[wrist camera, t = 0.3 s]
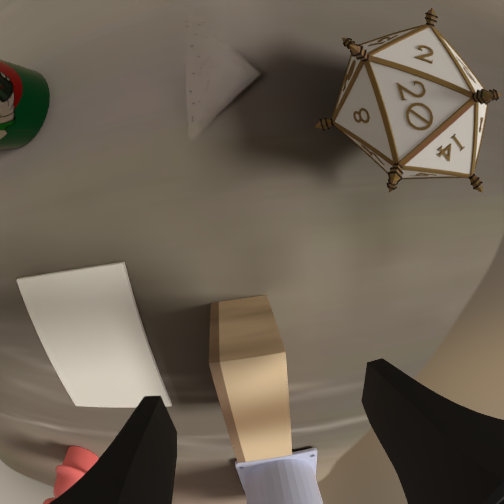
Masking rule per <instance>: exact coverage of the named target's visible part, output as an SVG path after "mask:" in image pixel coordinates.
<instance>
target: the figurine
mask: <svg viewBox="0 0 504 504" xmlns="http://www.w3.org/2000/svg"><path fill="white" fill-rule="evenodd" d="M98 459H99V458H98V457H97V456H96V455H95V454H94V453H92V452H90V451H89V450H87V449H84V448H82V447H78V446H70V447H69V448H68V450H67V453H66V456H65V459H64V461H63V464H62V465H58V466H57V467H56V473H57V478H56V482H55V486H54V496H55V498H49V499H46V500H45V501H44V503H43V504H49V503H50V502H52V501H53V500H55V499H56V498H58V497H59V496H60V495H62V494H63V493H64V492H65V491H66V490H68V489H69V488H70V487H71V486H72V485H74V484H75V483H76V482H77V481H78V480H79V479H80V478H81V477H82V476H83V475H84V474H85V473H86V472H87V471H88V470H89V469H90V468H91V467H92V466H93V465H94V464H95V463H96V462H97V461H98Z"/></svg>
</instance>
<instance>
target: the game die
mask: <svg viewBox="0 0 504 504" xmlns="http://www.w3.org/2000/svg"><path fill="white" fill-rule="evenodd" d="M425 14H426V17H425V19H426V22H427V23H426V24H425V25H421V26H417V27H413V28H410V29H406V30H403V31H399V32H396V33H392V34H389V35H386V36H383V37H380V38H377V39H374V40H371V41H368V42H365V43H362V44H359V45H357V44H355V42H354V41H352V39H350V38H347V39H346V38H342V39H343V44H344V46H346V47H347V48H348V49H351V50H350V52H351V56H350V60H349V63H348V66H347V70H346V73H345V77H344V80H343V83H342V87H341V90H340V93H339V97H338V100H337V103H336V106H335V110H334V113H333V116H332V118H331V119H326V118H325V119H324V120H321V119H320V121H319V122H318V123H317V124H316V126H315V127H316V128H320V129H323V131H324V130H325V129H327V128H328V129H329V128H330V127H331V126H335V127H336V128H338V129H339V130H340V131H341V132H342V133H343V134H345V135H346V136H347V137H348V138H349V139H350V140H352V141H353V142H354V143H355V144H356V145H357V146H358V147H359V148H361V149H362V150H363V151H364V152H365V153H366V154H367V155H368V156H369V157H370V158H372V159H373V160H374V161H375V162H376V163H377V164H378V165H379V166H380V167H381V168H382V169H383V170H384V171H385V172H386V173H387V174H388V176H389V179H388V183H387V187H388V188H389V192H391V191H392V190H394V189H396V188H397V187H396V185H397V184H398V183H397V182H399V181H400V180H401V179H427V178H469V179H470V181H471V185H473V187H474V188H473V189H476V190H478V191H480V192H482V193H483V191H482V183H483V182H481V181H480V180H479V177H477V176H475V174H474V172H475V168H476V164H477V160H478V155H479V151H480V146H481V142H482V137H483V132H484V126H485V121H486V115H487V108H488V103H489V102H490V101H491V100H490V99H492V101H493V100H496V101H497V100H498V99H499V97H500V96H501V95H502V94H500V93H498V92H497V91H496V90H494V89H493V90H489V91H486V90H485V88H484V87H483V86H482V84H481V83H480V81H479V80H478V79H477V77H476V76H475V75H474V73H473V72H472V71H471V69H470V68H469V67H468V65H467V64H466V63H465V62H464V60H463V59H462V58H461V57H460V55H459V54H458V53H457V52H456V51H455V49H454V48H453V47H452V46H451V45H450V44H449V43H448V41H447V40H446V39H445V38H444V37H443V36H442V35H441V34H440V33H439V32H438V30H437V29H436V28H435V27H434V24H435V22H437V21H436V18H438V17H437V16H436V14H435V12H434V10H433V8H431V9H430V10H429V11H428V12H427V13H425Z"/></svg>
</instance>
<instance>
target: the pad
mask: <svg viewBox="0 0 504 504" xmlns="http://www.w3.org/2000/svg"><path fill="white" fill-rule="evenodd" d="M16 280H17V283H18V286H19V289H20V292H21V295H22V297H23V300H24V303H25V305H26V308H27V310H28V313H29V315H30V318H31V320H32V322H33V325H34V327H35V329H36V332H37V334H38V336H39V338H40V340H41V342H42V345H43V347H44V349H45V351H46V353H47V355H48V357H49V359H50V361H51V363H52V365H53V367H54V369H55V370H56V372H57V374H58V376H59V378H60V380H61V381H62V383H63V385H64V387H65V388H66V390H67V392H68V394H69V395H70V397H71V399H72V400H73V402H74V404H75V405H76V406H87V407H137V406H138V405H139V403H140V402H141V400H142V399H143V397H144V396H161V397H162V400H163V402H164V404H165V407H166V406H172V402H171V400H170V398H169V395H168V393H167V390H166V388H165V385H164V383H163V380H162V378H161V375H160V372H159V370H158V367H157V364H156V362H155V359H154V356H153V353H152V351H151V348H150V345H149V342H148V339H147V336H146V333H145V330H144V327H143V324H142V321H141V318H140V315H139V311H138V308H137V305H136V301H135V298H134V295H133V291H132V288H131V284H130V281H129V277H128V273H127V269H126V266H125V262H124V261H123V262H117V263H110V264H104V265H97V266H91V267H84V268H78V269H72V270H65V271H59V272H53V273H46V274H40V275H34V276H28V277H22V278H18V279H16Z"/></svg>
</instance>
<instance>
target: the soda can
mask: <svg viewBox="0 0 504 504" xmlns="http://www.w3.org/2000/svg"><path fill="white" fill-rule="evenodd" d="M49 97H50V94H49V88H48V84H47V82H46V80H45V78H44V77H43V76H42V75H41V74H40V73H38V72H36V71H33V70H30V69H28V68H25V67H22V66H19V65H16V64H13V63H10V62H6V61H3V60H0V149H10V148H18V147H21V146H23V145H25V144H27V143H28V142H29V141H31V140H32V139H33V138H34V137H35V136H36V134H37V133H38V132H39V130H40V128H41V127H42V125H43V123H44V121H45V118H46V115H47V112H48V108H49Z"/></svg>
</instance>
